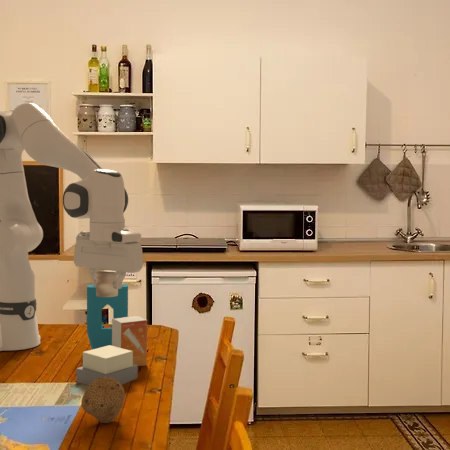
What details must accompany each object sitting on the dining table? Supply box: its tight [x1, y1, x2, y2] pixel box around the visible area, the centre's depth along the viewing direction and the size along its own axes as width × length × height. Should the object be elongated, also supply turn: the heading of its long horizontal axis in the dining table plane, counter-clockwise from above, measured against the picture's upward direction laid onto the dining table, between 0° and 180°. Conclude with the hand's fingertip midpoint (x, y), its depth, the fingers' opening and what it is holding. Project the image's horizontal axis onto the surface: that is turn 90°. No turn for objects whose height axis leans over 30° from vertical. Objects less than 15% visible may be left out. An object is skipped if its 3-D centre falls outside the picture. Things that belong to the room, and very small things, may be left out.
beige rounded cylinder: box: [96, 270, 118, 297], centre depth 162 cm, size 6×6×6 cm
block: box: [86, 283, 129, 350], centre depth 191 cm, size 12×5×20 cm, turn 101°
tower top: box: [82, 345, 133, 374], centre depth 164 cm, size 9×9×4 cm
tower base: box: [76, 364, 139, 386], centre depth 164 cm, size 11×11×4 cm
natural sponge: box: [81, 377, 126, 424], centre depth 136 cm, size 9×9×10 cm
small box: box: [111, 315, 148, 367], centre depth 178 cm, size 8×6×13 cm
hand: (107, 287), depth 162 cm, fingers closed on beige rounded cylinder, 5 cm apart
